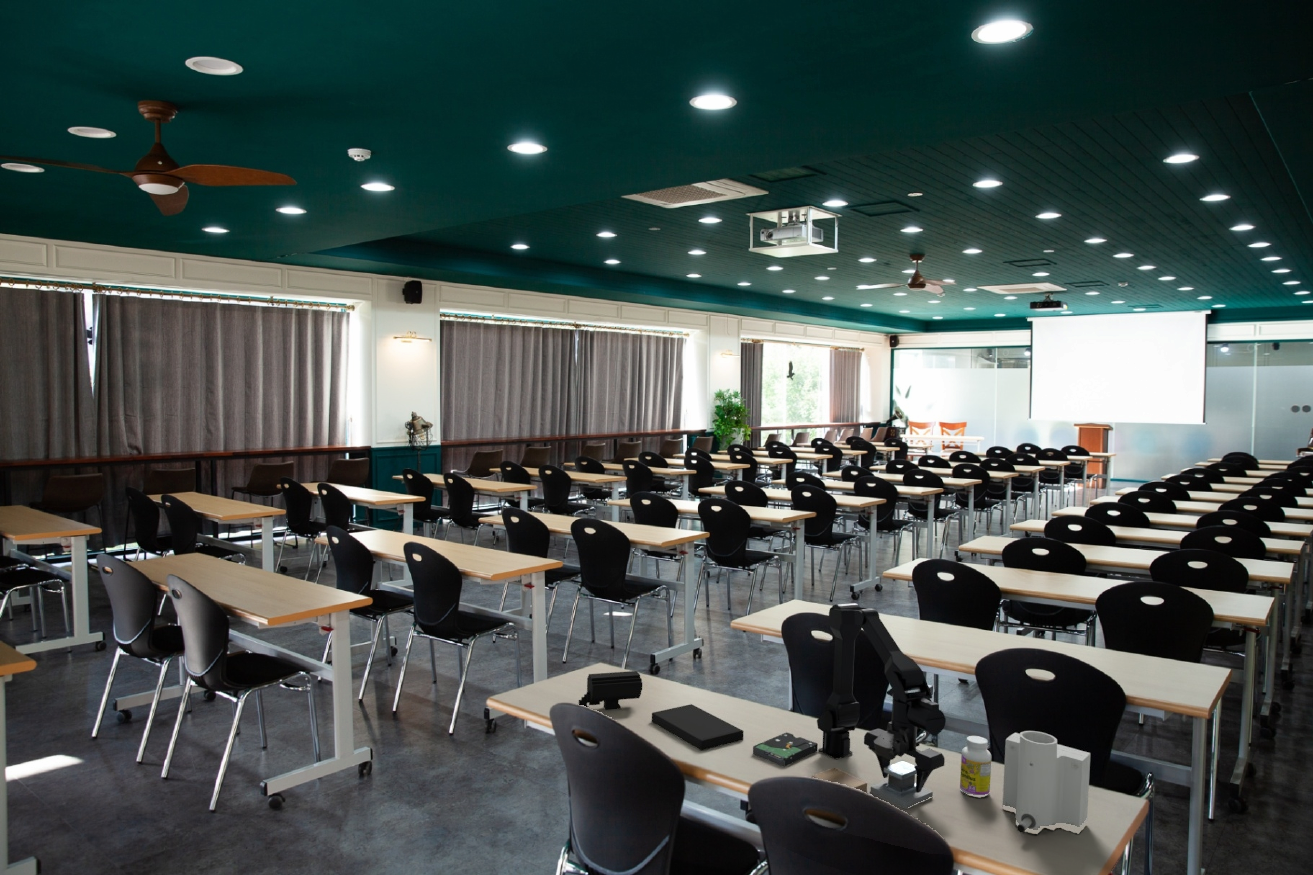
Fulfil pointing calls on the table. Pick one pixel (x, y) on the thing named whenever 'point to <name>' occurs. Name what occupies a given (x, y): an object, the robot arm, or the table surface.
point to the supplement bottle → (975, 767)
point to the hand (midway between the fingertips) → (901, 784)
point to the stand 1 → (842, 778)
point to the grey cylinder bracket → (1045, 781)
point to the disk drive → (785, 749)
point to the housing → (900, 778)
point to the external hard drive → (697, 727)
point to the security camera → (612, 688)
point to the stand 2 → (895, 799)
